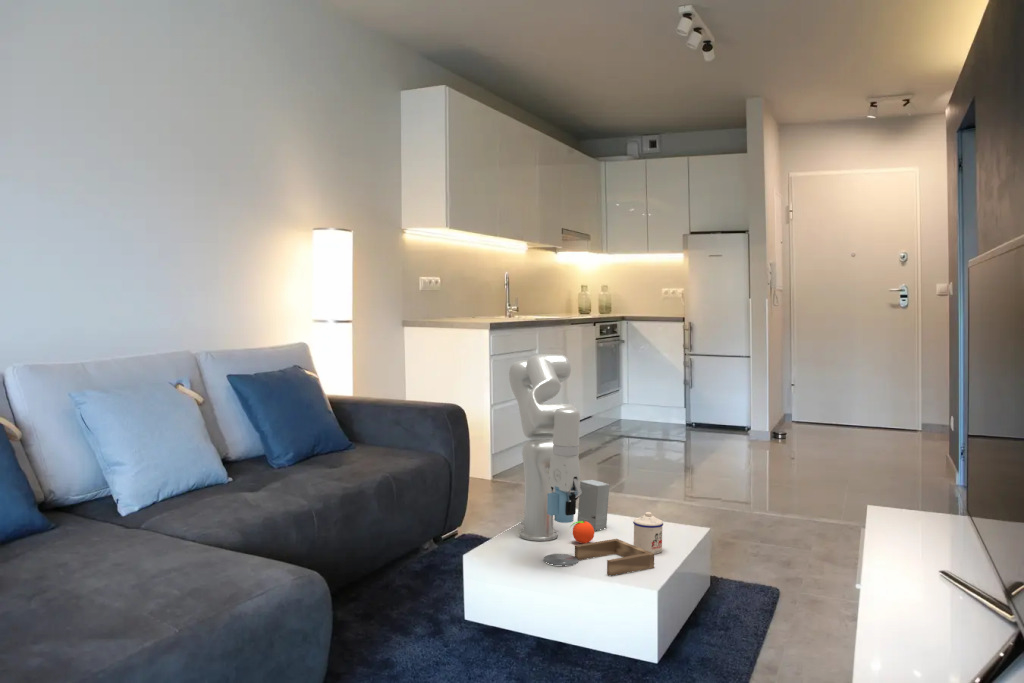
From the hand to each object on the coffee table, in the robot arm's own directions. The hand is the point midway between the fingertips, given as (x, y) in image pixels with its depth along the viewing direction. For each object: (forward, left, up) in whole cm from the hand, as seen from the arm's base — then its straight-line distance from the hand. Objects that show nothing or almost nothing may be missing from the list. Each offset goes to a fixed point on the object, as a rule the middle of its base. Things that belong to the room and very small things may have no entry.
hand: (564, 511), depth 218 cm
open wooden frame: (+8, +12, -15) cm, 21 cm away
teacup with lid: (+2, +31, -15) cm, 34 cm away
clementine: (-13, +16, -15) cm, 25 cm away
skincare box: (-26, +30, -15) cm, 42 cm away
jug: (0, -1, -3) cm, 3 cm away
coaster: (-1, 0, -15) cm, 15 cm away
